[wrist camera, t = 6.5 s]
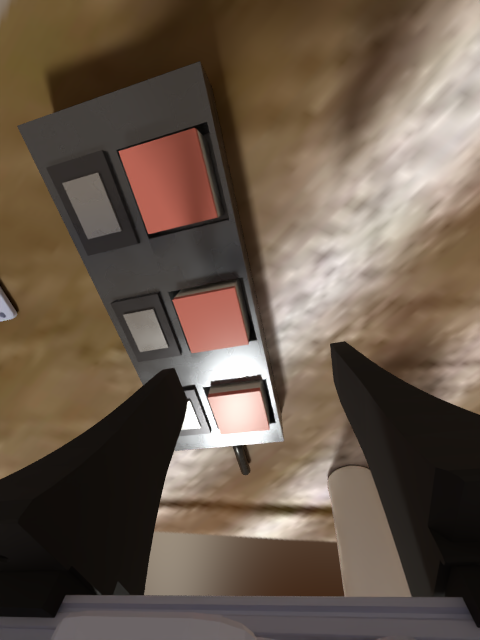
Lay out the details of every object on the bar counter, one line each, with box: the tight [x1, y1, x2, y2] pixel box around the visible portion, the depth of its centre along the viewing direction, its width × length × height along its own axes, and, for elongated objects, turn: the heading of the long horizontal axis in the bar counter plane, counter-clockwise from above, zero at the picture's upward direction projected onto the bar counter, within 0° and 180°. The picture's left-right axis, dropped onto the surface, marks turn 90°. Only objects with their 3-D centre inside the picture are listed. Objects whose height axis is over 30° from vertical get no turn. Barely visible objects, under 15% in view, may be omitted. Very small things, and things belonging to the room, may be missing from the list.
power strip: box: [17, 61, 284, 475], centre depth 20 cm, size 10×32×4 cm, turn 13°
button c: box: [118, 128, 224, 234], centre depth 14 cm, size 4×4×3 cm
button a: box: [208, 379, 270, 435], centre depth 21 cm, size 4×4×3 cm
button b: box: [173, 278, 250, 353], centre depth 18 cm, size 4×4×3 cm
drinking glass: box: [327, 466, 412, 597], centre depth 21 cm, size 7×7×15 cm
